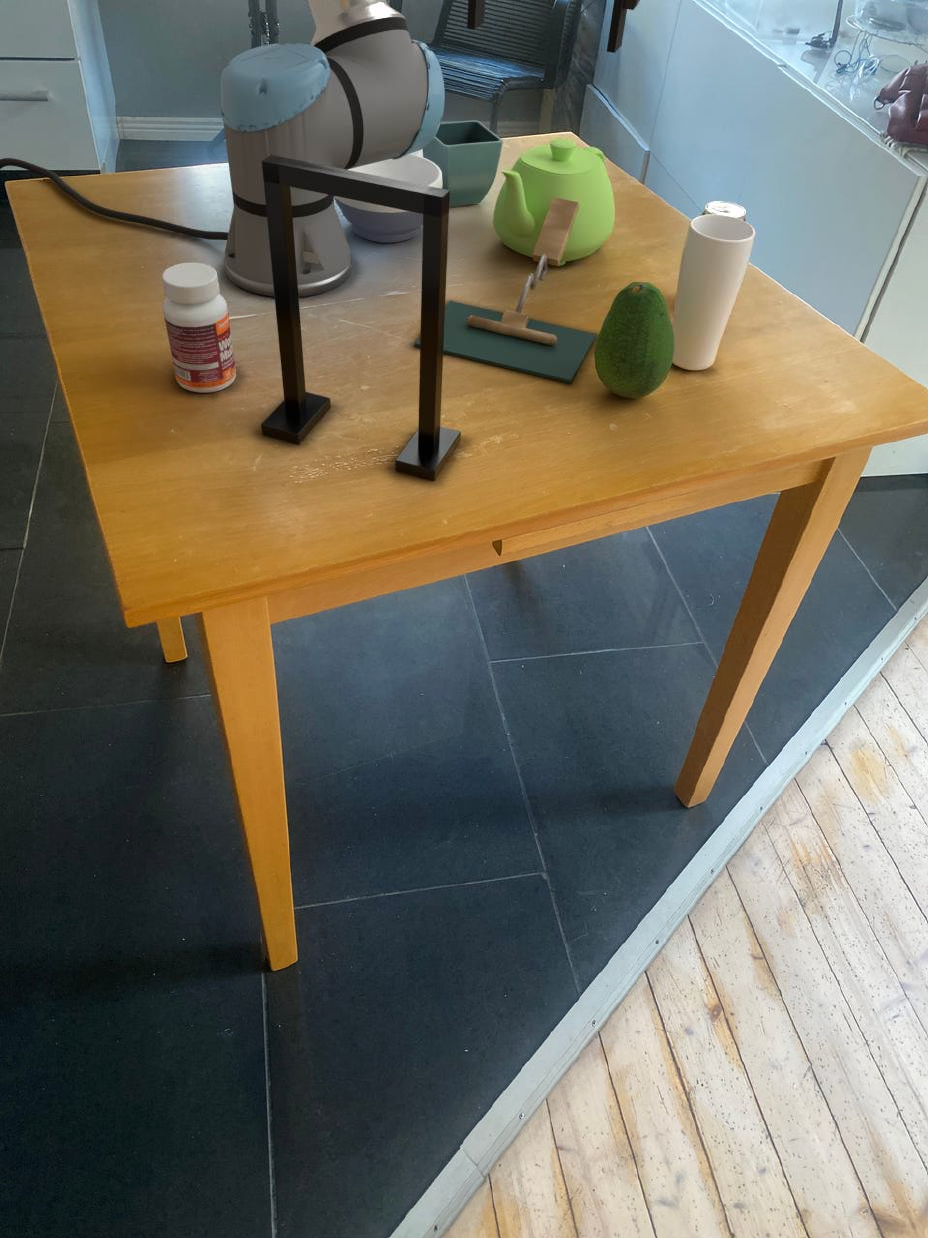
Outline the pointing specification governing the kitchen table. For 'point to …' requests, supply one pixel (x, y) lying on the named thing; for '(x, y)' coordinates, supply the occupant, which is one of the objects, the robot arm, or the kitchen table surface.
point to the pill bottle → (198, 328)
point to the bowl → (386, 220)
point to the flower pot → (465, 159)
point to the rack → (299, 406)
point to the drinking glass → (708, 286)
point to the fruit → (635, 342)
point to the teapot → (562, 177)
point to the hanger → (537, 272)
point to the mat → (514, 344)
